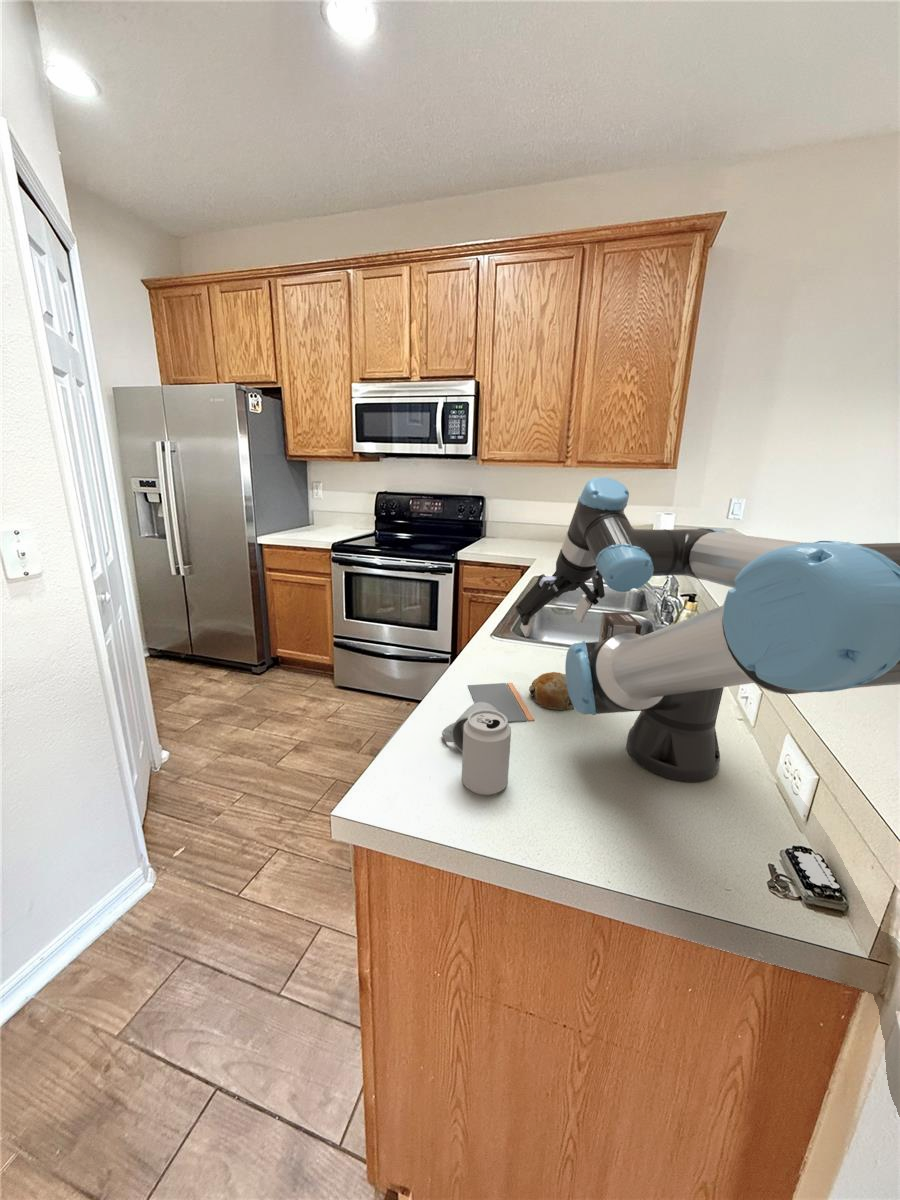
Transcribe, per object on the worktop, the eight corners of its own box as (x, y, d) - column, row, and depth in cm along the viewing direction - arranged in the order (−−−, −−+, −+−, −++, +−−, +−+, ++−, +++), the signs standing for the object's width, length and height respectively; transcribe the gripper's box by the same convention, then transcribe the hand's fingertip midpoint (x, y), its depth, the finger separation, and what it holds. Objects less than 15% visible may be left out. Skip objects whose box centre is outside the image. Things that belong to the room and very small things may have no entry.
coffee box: (633, 692, 109) (643, 625, 105) (604, 691, 110) (613, 624, 105) (620, 674, 118) (629, 611, 113) (593, 673, 118) (601, 610, 113)
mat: (534, 720, 97) (534, 719, 97) (483, 724, 95) (483, 723, 95) (512, 683, 112) (512, 682, 112) (467, 686, 110) (467, 685, 110)
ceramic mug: (503, 737, 91) (505, 700, 89) (491, 761, 84) (492, 723, 82) (451, 725, 95) (451, 690, 93) (435, 748, 88) (434, 711, 86)
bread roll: (555, 729, 101) (573, 703, 97) (517, 696, 105) (534, 670, 101) (574, 710, 109) (592, 685, 104) (538, 680, 113) (554, 655, 108)
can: (494, 805, 74) (498, 737, 70) (452, 787, 78) (454, 721, 74) (515, 778, 80) (519, 714, 76) (475, 763, 84) (478, 701, 80)
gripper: (623, 531, 97) (590, 601, 113) (512, 552, 89) (493, 624, 105) (645, 556, 92) (607, 625, 108) (531, 581, 85) (508, 651, 101)
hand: (551, 624), depth 107 cm, fingers open, 13 cm apart
